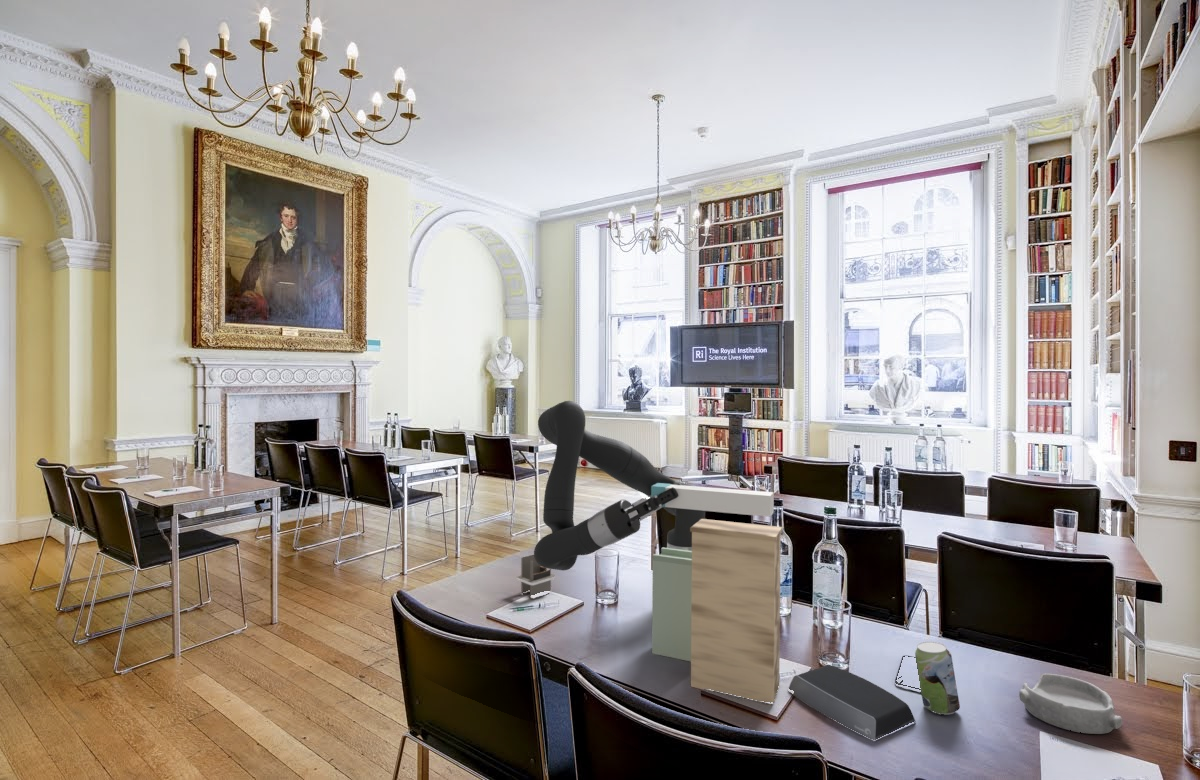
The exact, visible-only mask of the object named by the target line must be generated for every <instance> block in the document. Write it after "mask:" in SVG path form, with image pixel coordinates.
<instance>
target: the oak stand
mask: <svg viewBox="0 0 1200 780" xmlns="http://www.w3.org/2000/svg"><path fill="white" fill-rule="evenodd" d="M690 532H692V604H691V661H690V687H692V688H695V689H699V690H700V689H701V690H704V689H711V690H714V691H719V692H723V693H728V694H732V695H736V696H741V697H744V698H749V699H753V700H757V701H764V702H770V703H771V702H774V703H775V701H774V699H775V700H776V698H775V696H776V697H777V694H778V691H779V688H778V686H779V687H780V656H781V655H780V654H781V653H780V651H781V649H780V648H781V647H780V645H781V643H780V642H781V641H780V639H781V635H780V634H781V633H780V630H781V629H780V628H781V623H780V621H781V541H782V540H781V539H782V538H781V537H782V535H781V534H782V532H783V526H775V525H764V524H757V523H745V522H736V521H735V522H734V521H726V520H715V519H707V518H705V519H701V520H699V521H698V522H697V523H695V524H694V525H693V526H692V527H690ZM777 690H778V691H777ZM776 693H777V694H776ZM744 698H743V699H744ZM753 700H752V701H753ZM757 701H756V702H757Z"/></svg>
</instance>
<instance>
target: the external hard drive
mask: <svg viewBox="0 0 1200 780" xmlns="http://www.w3.org/2000/svg"><path fill="white" fill-rule="evenodd" d="M788 688H789V689H790V690H793V691H794V695H793V696H794V697H795V698H797V699H798V700H800V701H801V702H803V703H804V704H806V705H807V704H808V705H807V706H809V707H810V706H811V708H812V709H813V710H815V709H816V710H815V711H816V712H818V711H819V713H820V712H821V713H820V714H822V713H823V714H825V715H826V717H827V716H828V717H830V718H832V719H834V720H836V721H837V722H839V723H841V724H843V725H844V726H846V727H848V728H850V729H852V730H854V731H856V732H858V733H860V734H862V735H864V736H866V737H868V738H870V739H873V740H876V739H878V738H880V737H882V736H884V735H886V734H889V733H891V732H893V731H895V730H897V729H899V728H901V727H904V726H905V725H908V724H909V723H912V722H914V721H915V722H916V720H915V716H914V715H913V712H912V709H911V708H910V705H908V704H907V703H906V702H905V701H904V700H902V699H901V698H899V697H897V696H896V695H894V694H893V693H891V692H889V691H887V690H885V689H884V688H882V687H881V686H879V685H877V684H875V683H873V682H871V681H869V680H867V679H866V678H864V677H861V676H859V675H856V674H854V673H851V672H849V671H847V670H845V669H842V668H840V667H836V666H833V665H832V664H826V665H823V666H821V667H817V668H814V669H811V670H809V671H808V670H807V671H806V672H802V673H800V674H795V675H794V676H793V678H792V679H791V681H790V683H789V686H788ZM823 714H822V715H823ZM825 715H824V716H825ZM828 717H827V718H828ZM830 718H829V719H830ZM832 719H831V720H832ZM834 720H833V721H834ZM837 722H836V723H837ZM839 723H838V724H839ZM841 724H840V725H841ZM844 726H843V727H844ZM846 727H845V728H846ZM848 728H847V729H848ZM850 729H849V730H850ZM852 730H851V731H852ZM854 731H853V732H854Z"/></svg>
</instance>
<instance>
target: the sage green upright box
mask: <svg viewBox="0 0 1200 780" xmlns="http://www.w3.org/2000/svg"><path fill="white" fill-rule="evenodd" d="M660 550H661V551H660V552H661V553H660V554H657V553H653V554H652V604H651V605H652V606H651V607H652V608H651V609H652V615H651V616H652V619H651V622H652V625H651V626H652V629H651V630H652V634H651V639H652V640H651V651H652V652H651V654H652V655H658V656H664V657H668V658H673V659H677V660H681V661H683V660H684V661H687V662H691V604H692V551H688V550H680V549H672V548H667V547H664V546H663V547H661V549H660Z"/></svg>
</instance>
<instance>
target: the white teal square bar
mask: <svg viewBox="0 0 1200 780" xmlns="http://www.w3.org/2000/svg"><path fill="white" fill-rule="evenodd" d="M672 487H674V488H675V489H676V491H677V493H678V497H677V498H675V499H673V500H671V501H669V502H667V503H665V504H663V503H662V504H663V506H662V508H663V507H670V508H681V509H692V510H702V511H705V512H715V513H723V514H737V515H745V516H746V515H748V516H759V517H768V518H770V517H772V515H773V514H774V512H775V511H774V508H775V507H774V506H775V505H774V502H775V501H774V499H775V497H774V495H775V492H773V491H762V490H760V491H759V490H749V489H748V490H747V489H734V488H724V487H711V486H710V487H708V486H699V485H697V486H695V485H692V486H685V485H672V484H666V483H657V484H655V485H653V486H651V498H652V497H654V495H659V494H661V493H663V492H665V491H666V490H668V489H670V488H672ZM658 497H659V496H658Z"/></svg>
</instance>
